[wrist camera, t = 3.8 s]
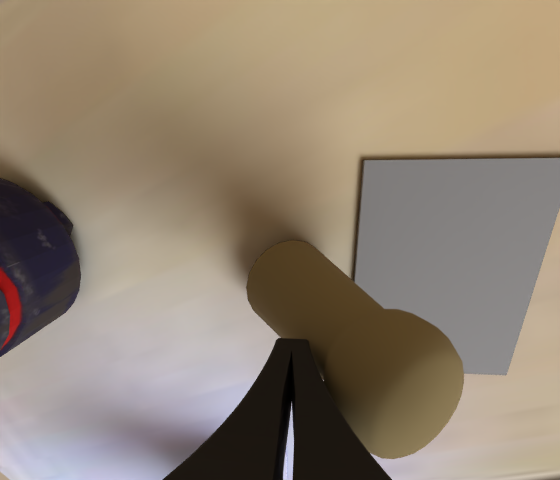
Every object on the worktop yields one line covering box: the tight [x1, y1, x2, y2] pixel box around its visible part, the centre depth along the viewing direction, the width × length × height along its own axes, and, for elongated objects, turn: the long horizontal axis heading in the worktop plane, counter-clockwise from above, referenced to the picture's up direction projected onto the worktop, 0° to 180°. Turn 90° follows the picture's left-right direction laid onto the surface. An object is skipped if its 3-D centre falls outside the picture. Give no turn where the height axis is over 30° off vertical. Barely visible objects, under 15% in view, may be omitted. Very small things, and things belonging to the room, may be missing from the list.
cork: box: [246, 240, 464, 459], centre depth 14 cm, size 6×6×11 cm
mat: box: [354, 158, 560, 375], centre depth 19 cm, size 16×12×1 cm
